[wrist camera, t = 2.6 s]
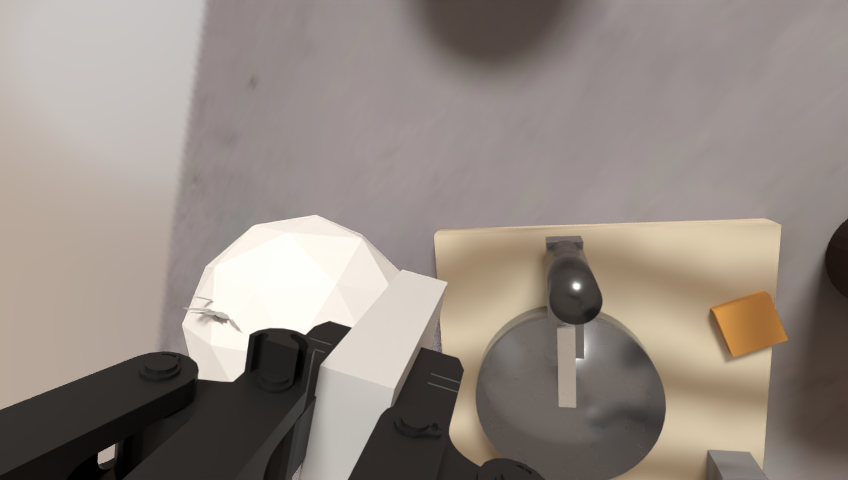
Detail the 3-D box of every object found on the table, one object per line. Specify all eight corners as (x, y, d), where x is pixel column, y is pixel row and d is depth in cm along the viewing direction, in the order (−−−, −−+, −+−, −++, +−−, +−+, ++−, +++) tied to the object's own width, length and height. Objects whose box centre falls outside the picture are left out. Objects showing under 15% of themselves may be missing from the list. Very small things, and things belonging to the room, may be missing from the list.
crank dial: (654, 465, 32) (701, 596, 23) (483, 455, 35) (466, 569, 26) (660, 228, 29) (717, 274, 20) (471, 234, 31) (447, 277, 22)
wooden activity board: (752, 512, 34) (797, 591, 29) (457, 489, 39) (443, 553, 33) (773, 218, 30) (832, 240, 24) (439, 229, 34) (421, 250, 29)
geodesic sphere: (138, 304, 34) (103, 490, 23) (225, 134, 30) (233, 263, 19) (323, 349, 42) (361, 503, 31) (413, 219, 38) (492, 346, 27)
